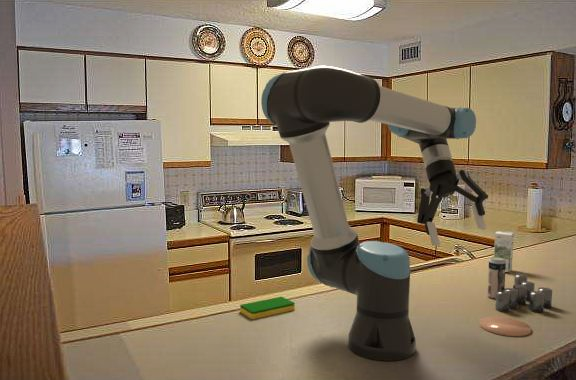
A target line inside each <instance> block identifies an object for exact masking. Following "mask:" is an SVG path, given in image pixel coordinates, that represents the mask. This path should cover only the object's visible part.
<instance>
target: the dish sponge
mask: <svg viewBox="0 0 576 380" xmlns="http://www.w3.org/2000/svg"><path fill="white" fill-rule="evenodd" d="M295 306H296V305H295V302H294V301H292V300H289V299H288V298H286V297H283V296H278V297H274V298H269V299H263V300H257V301H254V302H248V303H244V304H240V305H239V310H240V311H239V312H240V313H241V314H243V315H245V316H246V317H248V318H249V319H251V320H255V319H260V318H265V317H270V316H273V315H278V314H282V313H286V312H290V311H295V310H296V308H295Z"/></svg>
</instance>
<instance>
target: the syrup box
mask: <svg viewBox="0 0 576 380" xmlns="http://www.w3.org/2000/svg"><path fill="white" fill-rule="evenodd" d="M494 233H495V234H494V249H493V250H494V251H493V257H499V258H503V259H504V260H505V262H506V270H505V271H506V272H510V271H511V270H512V271H513V257H514V255H513V253H514V252H513V251H514V242H515V241H514V240H515V238H514V235H515V233H514V232H513V231H504V230H497V231H496V232H494ZM512 271H511V272H512ZM511 272H510V273H511Z"/></svg>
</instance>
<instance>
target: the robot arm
mask: <svg viewBox="0 0 576 380" xmlns="http://www.w3.org/2000/svg"><path fill="white" fill-rule="evenodd" d="M265 84H266V85H265V87H264V89H263V90H262V94H261V101H260V103H261V110H262V113H263V115H264V117H265V118H266V119H267V120H268V122H271V124H273V125H275V126H276V127H277V130H278V134H279V137H280V139H281V140H283V141H285V142H287V143H288V145H289V149H290V153H291V156H292V159H293V162H294V166H295V170H296V173H297V176H298V177H297V178H298V180H299V184H300V187H301V191H302V195H303V198H304V202H305V205H306V206H305V207H306V210H307V213H308V216H309V219H310V220H309V221H310V223H311V227H312V231H313V236H312V238H311V240H310V246H309V248H308V254H307V257H306V263H307V268H308V270H309V273H310V275H312V277H313V278H314V279H315V280H316V281H317V282H318V283H322V284H323V285H325V286H327V287H330V288H335V289H337V290H341V291H342V292H343V291H344V292H347V293H350V294H353V295H354V296H355V295H356V311H355V312H356V313H355V315H354V319H353V321H352V324H351V327H350V329H349V333H348V339H347V340H348V342H347V345H348V348H349V349H350V350H351V352H353V353H354V352H355V354H356V353H357V355H358V354H359V355H358V356H360V355H361V357H363V358H366V357H367V358H366V359H371V360H376V361H385V362H387V361H388V362H390V361H392V362H393V361H402V360H405V359H408V358H411V357H412V356H413V355H414V354H416V347H417V346H416V344H417V341H416V337H415V333H414V330H413V326H412V324H411V319H410V315H409V312H410V310H409V308H410V307H409V306H410V288H411V287H410V286H411V283H410V282H411V273H412V270H411V259H410V255H409V253H408V252H407V250H405V248H403V247H401V246H399V245H397V244H394V243H390V242H382V241H378V240H377V241H376V240H368V241H367V240H366V241H363V242H360V239H359V236H358V231H357V230H356V229H355V228H354V227H351V226H350V225H349V222H348V217H347V215H346V214H347V213H346V209H345V206H344V202H343V198H342V194H341V191H340V187H339V183H338V182H339V181H338V179H337V174H336V171H335V166H334V163H333V159H332V158H333V157H332V155H331V151H330V148H329V147H330V146H329V143H328V139H327V135H326V132H327V130H328V129H329V127H330V125H331V124H330V123H333V122H335V123H336V122H355V123H359V124H361V123H362V124H363V123H366V122H368V121H372V122H376V123H380V124H385V125H387V127H388V129H389V132H391V133H392V134H395V135H396V136H397V137H399V138H402V139H405V140H408V141H410V142H413V143H415V144H418V146H419V148H420V151H421V156H422V161H423V165H424V168H425V172H426V176H427V180H428V182H429V187H426V188H423V187H422V188H420V189H419V190H420V202H419V209H418V212H417V213H418V214H417V217H416V219H417V220H416V222H417V223H418V224H421V225H424V227H425V231H426V235H428V236H429V237H430V242H431V246H434V247H441V242H440V237H439V234H438V230H437V227H436V226H437V225H436V223H435V222H433V220H434V218H435V216H436V213H437V210H438V207H439V205H440V202H441V203H442V201H443V199H445V198H447V197H449V196H452V195H454V194H455V193H458V194H460V195H462V196H463V197H464V198H467V199H468V200H469V201H471V202H473V203H471V205H470V206H471V209H472V212H473V215H474V219H475V222H476V226H477V229H478V230H483V231H485V230H487V226H486V223H485V220H484V217H483V216H485V215H486V211H485V207H484V205H483V202H484V201H485V200H488V198H489V195H488V194H487V192H486V191H484V190H483V188H481V186H480V185H478V184H477V182H475V181H474V179H473V178H471V175H470V173H469V172H468V171H466V170H463V169H460V170H459V172H458V173H457V171H456V167H455V163H454V162H453V157H452V154H451V150H450V147H449V144H448V139H453V140H454V139H456V140H459V139H468V138H470V137H471V136H473V135H474V132H475V131H476V127H477V118H476V114H475V112H474V111H473V109H471V108H469V107H461V106H458V107H449V106H447V105H442V104H438V103H436V102H432V101H429V100H427V99H423V98H420V97H416V96H412V95H410V94H408V93H407V94H406V93H403V92H402V91H401V92H400V91H397V90H394V89H391V88H388V87H386V86H385V87H384V86H382V85H380V83H378V81H377V80H376V79H374V78H372V77H369V76H366V75H363V74H360V73H357V72H354V71H350V70H347V69H343V68H339V67H335V66H327V65H317V66H312V67H309V68H304V69H302V68H301V69H296V70H289V71H285V72H283V73H280V74H277V75H275V76H273V77H272V78H270V79H269V80H268V82H267V83H265ZM460 180H461V181H463V182H464V183H465V184H466V185H467V186H468V187H469V188H470V189H471V190H472V191H473V192H474V193H475V194H473V193H471V192H469V191H468V190H466V189H464V188H463V187H461V186H459V185H458V184H459V181H460Z"/></svg>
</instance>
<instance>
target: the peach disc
mask: <svg viewBox="0 0 576 380" xmlns="http://www.w3.org/2000/svg"><path fill="white" fill-rule="evenodd" d="M479 327H480V328H482V329H483V330H485V331H486V332H490V333H492V334H496V335H500V336H503V337H504V336H507V337H525V336H528V335H530V334H531V332H532V327H531V326H530V325H529V324H528V323H526V322H523V321H521V320H519V319H515V318H511V317H506V316H485V317H482V318H480V320H479Z"/></svg>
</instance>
